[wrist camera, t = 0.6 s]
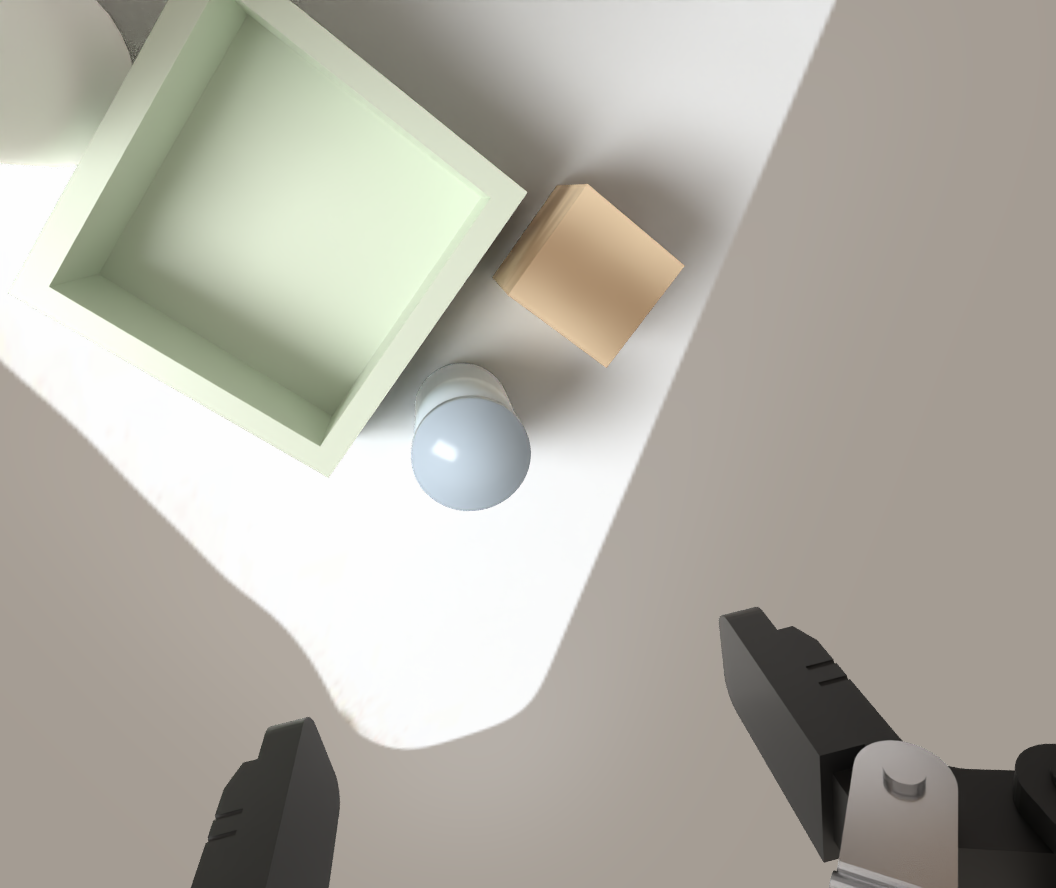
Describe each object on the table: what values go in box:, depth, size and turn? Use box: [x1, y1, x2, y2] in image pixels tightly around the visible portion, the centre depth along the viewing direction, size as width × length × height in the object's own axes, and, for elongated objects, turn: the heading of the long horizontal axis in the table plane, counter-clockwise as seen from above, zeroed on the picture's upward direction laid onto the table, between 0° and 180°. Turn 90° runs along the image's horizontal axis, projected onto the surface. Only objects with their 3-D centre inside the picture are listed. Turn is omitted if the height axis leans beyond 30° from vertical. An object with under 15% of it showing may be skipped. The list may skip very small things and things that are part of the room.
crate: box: [8, 0, 527, 478], centre depth 28 cm, size 14×13×5 cm
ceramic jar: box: [411, 363, 531, 511], centre depth 31 cm, size 5×5×7 cm
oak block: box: [492, 184, 684, 368], centre depth 30 cm, size 5×5×6 cm
